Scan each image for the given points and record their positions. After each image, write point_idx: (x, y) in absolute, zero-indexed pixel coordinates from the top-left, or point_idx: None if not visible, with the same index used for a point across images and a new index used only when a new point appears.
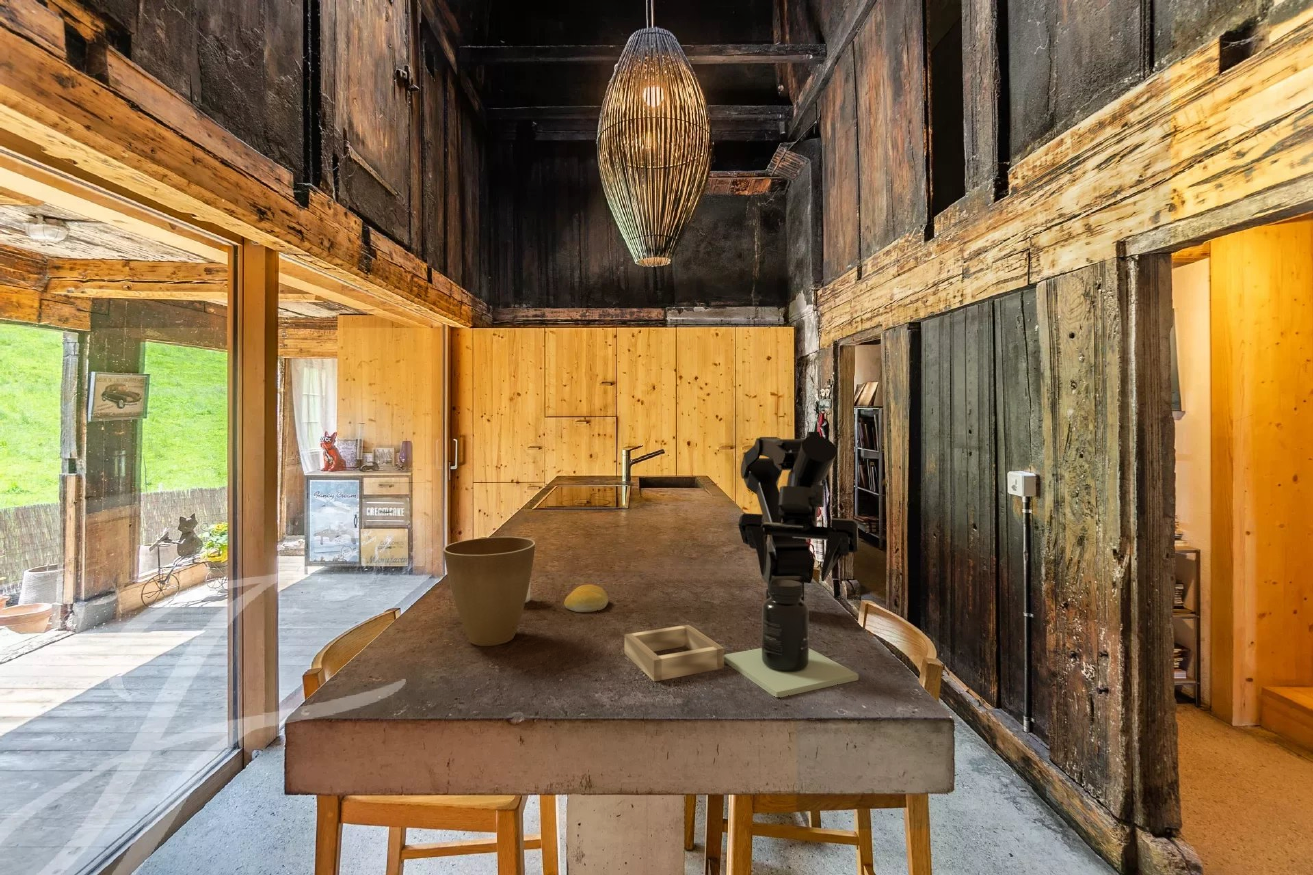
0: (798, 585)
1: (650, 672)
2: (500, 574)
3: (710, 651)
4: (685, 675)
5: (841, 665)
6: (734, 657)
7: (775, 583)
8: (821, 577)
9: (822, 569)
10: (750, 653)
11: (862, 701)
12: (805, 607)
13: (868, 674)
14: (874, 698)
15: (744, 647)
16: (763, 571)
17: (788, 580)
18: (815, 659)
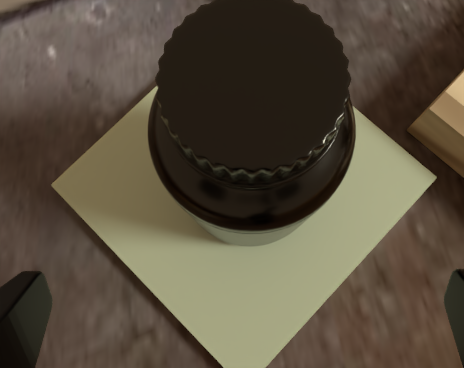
0: (171, 53)
1: None
2: None
3: (458, 77)
4: None
5: (94, 230)
6: (397, 172)
7: (306, 42)
8: (38, 272)
9: (4, 308)
10: (362, 221)
11: (53, 73)
12: (155, 101)
13: (29, 236)
14: (26, 98)
15: (403, 310)
16: (456, 275)
17: (245, 146)
18: (169, 248)
